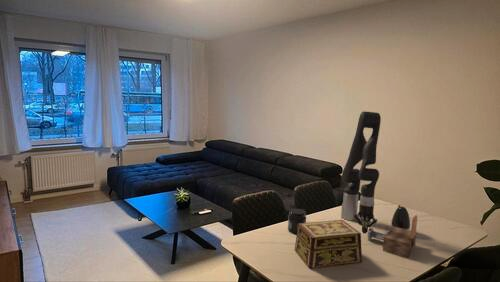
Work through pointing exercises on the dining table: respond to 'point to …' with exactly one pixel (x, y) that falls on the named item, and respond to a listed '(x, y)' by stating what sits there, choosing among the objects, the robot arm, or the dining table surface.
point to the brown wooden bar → (375, 234)
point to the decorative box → (328, 244)
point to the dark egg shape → (401, 218)
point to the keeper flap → (414, 226)
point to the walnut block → (399, 242)
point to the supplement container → (295, 219)
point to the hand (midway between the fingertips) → (364, 233)
